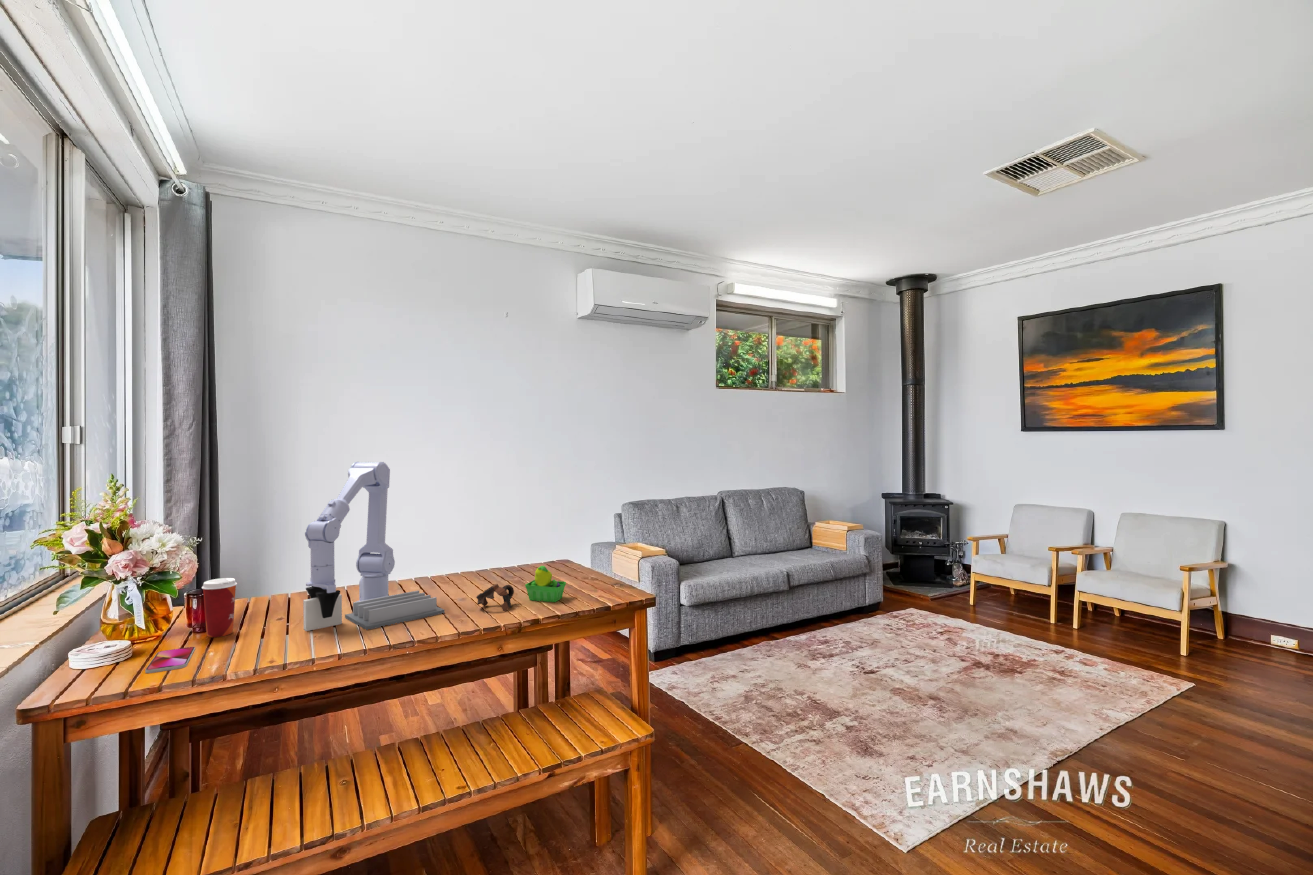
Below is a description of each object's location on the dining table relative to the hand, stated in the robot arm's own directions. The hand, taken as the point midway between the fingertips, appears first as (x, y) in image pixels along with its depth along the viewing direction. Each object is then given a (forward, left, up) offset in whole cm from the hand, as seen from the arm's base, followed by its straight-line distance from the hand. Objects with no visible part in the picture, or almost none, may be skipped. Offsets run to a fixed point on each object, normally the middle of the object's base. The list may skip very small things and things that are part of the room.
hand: (322, 614), depth 169 cm
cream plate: (0, 0, -3) cm, 3 cm away
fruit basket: (+21, +58, -3) cm, 62 cm away
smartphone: (+2, -33, -4) cm, 33 cm away
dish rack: (+4, +18, -3) cm, 19 cm away
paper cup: (-13, -21, -3) cm, 25 cm away
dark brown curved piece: (+18, +43, -4) cm, 47 cm away
